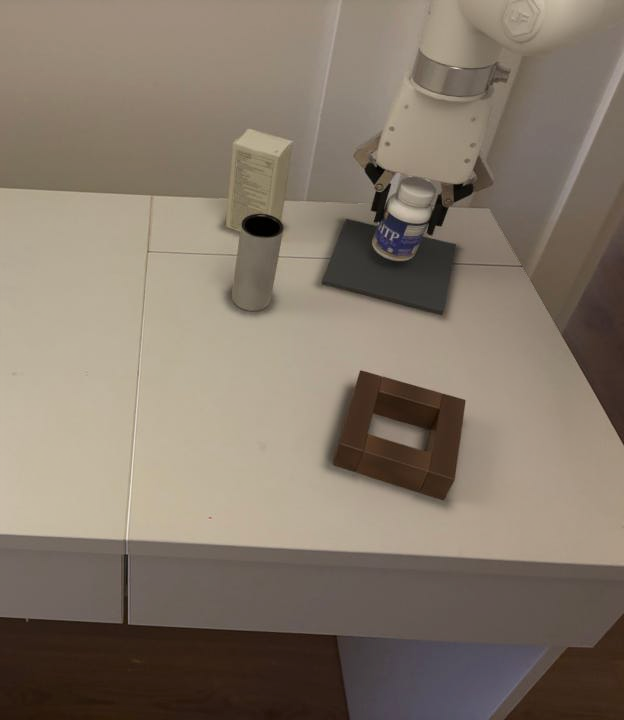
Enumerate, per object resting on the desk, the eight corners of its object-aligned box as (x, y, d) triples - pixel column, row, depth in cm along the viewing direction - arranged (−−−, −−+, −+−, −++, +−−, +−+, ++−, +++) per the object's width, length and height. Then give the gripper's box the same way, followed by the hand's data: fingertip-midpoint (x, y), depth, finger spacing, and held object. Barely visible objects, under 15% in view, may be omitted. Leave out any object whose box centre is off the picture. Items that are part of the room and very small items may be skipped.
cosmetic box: (281, 226, 97) (296, 141, 89) (266, 243, 95) (280, 157, 86) (238, 211, 100) (248, 126, 91) (222, 227, 97) (232, 141, 88)
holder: (455, 421, 74) (466, 399, 72) (443, 500, 67) (454, 479, 65) (353, 391, 77) (360, 369, 74) (332, 464, 70) (339, 443, 68)
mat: (455, 247, 95) (456, 244, 94) (442, 315, 85) (443, 311, 85) (345, 222, 98) (346, 218, 98) (321, 284, 89) (322, 280, 89)
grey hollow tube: (253, 281, 89) (264, 208, 82) (278, 302, 86) (292, 228, 79) (223, 295, 87) (232, 221, 80) (248, 316, 85) (260, 242, 77)
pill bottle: (363, 239, 91) (385, 176, 85) (398, 232, 92) (423, 170, 86) (387, 266, 88) (412, 202, 81) (423, 258, 89) (451, 195, 83)
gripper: (544, 71, 75) (482, 223, 88) (372, 42, 79) (338, 190, 92) (542, 103, 70) (477, 258, 83) (359, 70, 74) (324, 222, 87)
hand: (404, 221), depth 87 cm, fingers closed on pill bottle, 5 cm apart
